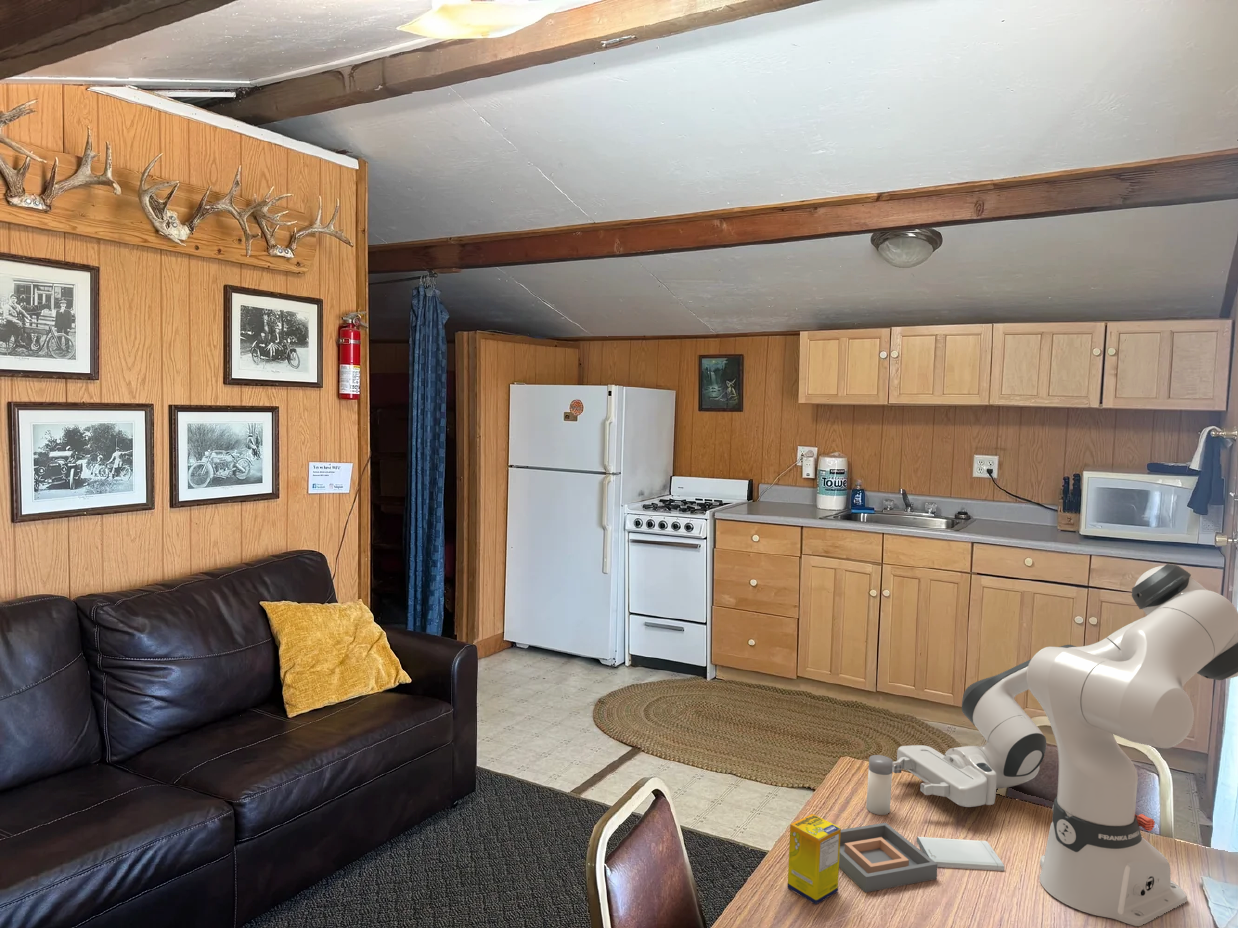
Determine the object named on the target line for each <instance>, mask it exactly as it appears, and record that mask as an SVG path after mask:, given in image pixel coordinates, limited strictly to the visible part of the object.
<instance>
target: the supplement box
mask: <svg viewBox="0 0 1238 928" xmlns="http://www.w3.org/2000/svg"><path fill="white" fill-rule="evenodd" d="M789 826H790V828H789V844H788V845H789V847H788V865H787V866H788V868H787V869H788V870H787V889H789V890H790V891H792V892H794V893H796V895H797V894H798V896H800V897H802V898H804V899H806V900H807V901H808V902H811V903H812V904H814V905H817V904H819V903H821V902H823V901H824V900H826V899H828V898H830V897H831V896H832V895H834V894H836V893H838V891H839V875H840V874H839V872H840V868H839V855H840V835H841V830H842V828H841V826H839V825H836V824H834V823H832V822H830V821H828V820H826V819H824V818H822V817H821V816H818V815H816V814H814V813H811V814H809V815H807V816H804V817H803V818H800V819H798V820H796V821H795V822H791V823H790V824H789Z"/></svg>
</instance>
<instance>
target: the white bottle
mask: <svg viewBox="0 0 1238 928" xmlns="http://www.w3.org/2000/svg"><path fill="white" fill-rule="evenodd" d="M893 762H894V761H893V759H892V758H890V757H888V756H886V755H882V754H873V755H870V756H869V758H868V774H867V775H868V776H867V792H866V793H867V794H866V806H865V808H866V810H867V811H868V812H870V813H871V814H875V815H880V816H884V815H888V813H889V814H890V812H891V799H892V781H893V772H892V768H893Z"/></svg>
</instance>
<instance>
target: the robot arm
mask: <svg viewBox="0 0 1238 928" xmlns="http://www.w3.org/2000/svg"><path fill="white" fill-rule="evenodd" d="M1191 576H1192V574H1191V573H1190V572H1188V571H1187V570H1185V569H1184V568H1182V567H1181V566H1179V565H1177V564H1169V563H1167V564H1165V565H1159V566H1156V567H1152V568H1150V569H1148V570H1147V571H1145V572H1144V573H1143V574H1141V575H1140V576H1139V577H1138V578H1137V580H1136V582H1135V584H1134V586H1132V588H1131V597H1132V599H1133V601H1134V603H1135V604H1136V606H1137V607H1138V608H1139V610H1142V611H1143V612H1144V614H1145V615H1146V616H1144V617H1141V618H1139V619H1136V620H1134V621H1132V622H1131V623H1128V624H1126V625H1125V626H1123V627H1121V628H1119V629H1117V630H1115V631H1113V632H1112V633H1111V634H1110V635H1108V636H1106V637H1105V638H1103V639H1102V640H1099V641H1097V642H1095V643H1091V644H1089V645H1084V646H1083V645H1082V646H1077V645H1072V644H1064V645H1061V646H1059V647H1058V646H1046V647H1043V648H1042V649H1040V650H1039V651H1037V652H1036V653H1035V654H1034V655H1033V656H1032V658H1030V659H1028V660H1026V661H1024V662H1022V663H1019V664H1017V665H1016V666H1013V667H1011V668H1010V669H1009V668H1008V669H1007V670H1004V671H1003V672H1001V673H998V674H995V675H992V676H989V677H986V678H983V679H981V680H978V681H976V682H973V683H972V684H970V685H968V686H967V688H966V689H965V690H964V693H963V695H962V699H961V712H962V714H963V715H964V716H965V717H966V718H967V719H968V721H970V723H971V724H972V725H973V726H975V727H976V729H977V730H978V731H979V733H980V734H981V735H982V737H983V738H984V739H985V741H986V743H984V744H982V745H981V746H979V745H966V746H959V747H952V748H948V750H946V752H945V754H943V753H942V752H939V751H938V750H936V749H934V748H933V747H931V746H928V745H922V744H921V745H919V744H917V745H913V744H911V745H901V746H899V747H898V749H897V753H896V761H893V768H892V773H894V774H901V773H902V770H904V771H908V772H909V773H911V774H913V775H914V776H915V777H916V778H918V779H920V780H921V781H923V782H922V783H920V786H919V787H920V789H919V791H920V792H922V794H924V796H930V795H933V796H938V797H939V796H940V797H946V798H947V799H948V800H950V801H952V802H953V803H955V804H957V806H960V807H964V808H972V807H973V808H974V807H979V806H984V805H986V806H991V805H994V804H995V801H996V796H997V795H996V794H997V790H999V789H1006V788H1011V787H1015V786H1019V785H1022V784H1024V783H1027V782H1029V781H1031V780H1033V779H1034V778H1035V777H1036V776H1037V775H1038V773H1039V771H1040V767H1041V764H1042V762H1043V761H1044V759H1045V754H1046V750H1047V738H1046V736H1045V734H1044V733H1043V732H1042V731H1041V729H1040V728H1039V727H1038V725H1037V724H1036V723H1035V722H1034V720H1033V719H1032V718H1031V717H1030V716H1029V715H1028V714H1027V713H1026V711H1024V709H1023V708H1022V707H1021V705H1020V704H1019V703H1018V702H1017V701H1016V699H1015V698H1016V696H1017V695H1020V694H1022V693H1024V692H1027V691H1030V693H1031V695H1032V696H1033V697H1034V698H1035V699H1036V701H1037V702H1038V703H1039V705H1040V706H1041V708H1042V710H1043V711H1044V713H1045V715H1046V717H1047V719H1048V722H1049V724H1050V727H1051V730H1052V733H1053V736H1054V740H1055V743H1056V749H1057V755H1058V777H1057V778H1058V779H1057V780H1058V781H1057V794H1056V795H1057V796H1056V797H1054V801H1053V805H1052V808H1051V809H1052V818H1051V820H1052V822H1051V823H1050V828H1049V831H1048V836H1047V841H1046V848H1045V853H1044V854H1042V855H1041V856H1040V859H1039V864H1040V867H1041V871H1040V874H1039V882H1040V884H1041V885H1042V887H1043V888H1044V889H1045V890H1046V892H1047V893H1048V894H1050V896H1052V897H1053V898H1055V899H1057V900H1058V901H1059V902H1061V903H1063V904H1065V905H1067V906H1069V907H1071V908H1073V909H1075V910H1078V911H1081V912H1084V913H1086V914H1090V915H1093V916H1098V917H1103V918H1109V919H1113V920H1116V921H1119V922H1122V923H1125V924H1127V925H1130V926H1135V927H1140V926H1144V925H1145V924H1148V923H1149V922H1152V921H1153V920H1155V919H1157V918H1158V917H1157V916H1159V917H1161V916H1164V915H1165V914H1166V912H1167V913H1169V912H1170V910H1171V909H1173V908H1175V909H1176V908H1178V907H1180V906H1181V905H1180V904H1182V903H1184V904H1185V902H1186V901H1187V902H1188V895H1187V894H1186V892H1185V891H1184V890H1183V888H1181V886H1179V885H1178V884H1177V883H1176V882H1174V881H1173V880H1172V879H1171V877H1172V876H1171V874H1172V873H1171V866H1170V863H1169V860H1168V859H1167V857H1166V856H1165V855H1164V854H1163V853H1162V852H1161V851H1160V850H1158V849H1157V848H1156V846H1153V844H1151V843H1150V842H1149V841H1148V840H1146V839H1145V838H1144V837H1143V836H1142V832H1141V829H1140V827H1142V828H1143V829H1144V830H1145V831H1147V832H1151V831H1152V830H1153V828H1155V825H1156V824H1155V821H1154V819H1153V818H1151V817H1148V816H1146V815H1145V814H1143V813H1140V814H1139V815H1138V814H1136V803H1137V796H1138V795H1137V793H1138V784H1139V783H1138V781H1139V776H1138V771H1137V769H1136V766H1135V764H1134V763H1133V761H1132V760H1131V758H1130V757H1129V756H1128V755H1127V753H1125V751H1124V750H1123V749H1122V748H1121V747H1120V745H1119V744H1118V742H1117V740H1116V738H1115V736H1116V737H1119V738H1122V739H1124V740H1127V741H1129V742H1132V743H1135V744H1138V745H1139V744H1140V745H1145V746H1149V747H1150V746H1151V747H1155V748H1159V749H1160V748H1161V749H1171V748H1173V747H1175V746H1177V745H1179V744H1180V743H1182V742H1183V741H1184V740H1185V739H1186V738H1188V736H1189V734H1190V733H1191V730H1192V729H1193V726H1194V722H1195V710H1194V706H1193V703H1192V701H1191V700H1192V699H1191V698H1190V696H1189V694H1188V693H1187V691H1186V690H1184V687H1185V685H1186V683H1187V682H1188V681H1190V680H1191V678H1192V677H1194V676H1195V675H1196V674H1198V675H1200V676H1201V677H1203V678H1206V679H1209V680H1215V681H1224V680H1227V679H1234V678H1236V677H1238V610H1237V608H1236V607H1235V605H1234V604H1233V603H1232V602H1231V601H1230V600H1229V599H1228V598H1227V597H1225V596H1224V595H1222V594H1220V593H1218V592H1215V591H1213V590H1210V589H1209V590H1208V589H1207V588H1205V587H1204V586H1203V585H1202V584H1201V583H1199V582H1198V581H1197V580H1196V579H1194V578H1193V577H1191ZM1187 902H1186V903H1187ZM1179 905H1180V906H1179ZM1182 905H1183V904H1182ZM1177 906H1178V907H1177ZM1173 910H1174V909H1173ZM1168 911H1169V912H1168ZM1171 911H1172V910H1171ZM1164 913H1165V914H1164ZM1156 917H1157V918H1156ZM1154 918H1155V919H1154ZM1143 924H1144V925H1143Z"/></svg>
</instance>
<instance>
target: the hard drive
mask: <svg viewBox="0 0 1238 928" xmlns="http://www.w3.org/2000/svg"><path fill="white" fill-rule="evenodd" d="M916 843H917V846H918V847H919V849H920V850H921V851H922V852H923V853H924V854H926V855H927V856H928V857H929V858H931V859H932V860H933V861H934V862H936V863H937V864H938V865H937V868H952V869H965V870H980V871H981V870H984V871H985V870H986V871H998V872H999V871H1001V872H1004V871H1005V865H1004V863H1003V861H1002V860H1001V859H1000V857H999V856H998V854H997V852H996V851H995V850H994V849H993V847H992V846H991V844H990V843H989V842H988V841H987V840H977V839H976V840H975V839H974V840H973V839H959V838H958V839H957V838H945V837H944V838H942V837H927V836H916Z"/></svg>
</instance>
